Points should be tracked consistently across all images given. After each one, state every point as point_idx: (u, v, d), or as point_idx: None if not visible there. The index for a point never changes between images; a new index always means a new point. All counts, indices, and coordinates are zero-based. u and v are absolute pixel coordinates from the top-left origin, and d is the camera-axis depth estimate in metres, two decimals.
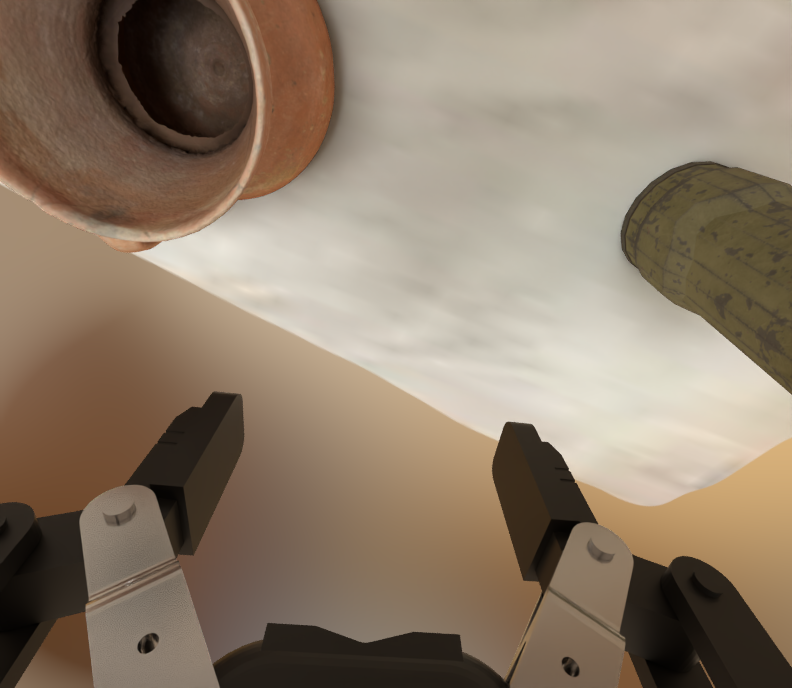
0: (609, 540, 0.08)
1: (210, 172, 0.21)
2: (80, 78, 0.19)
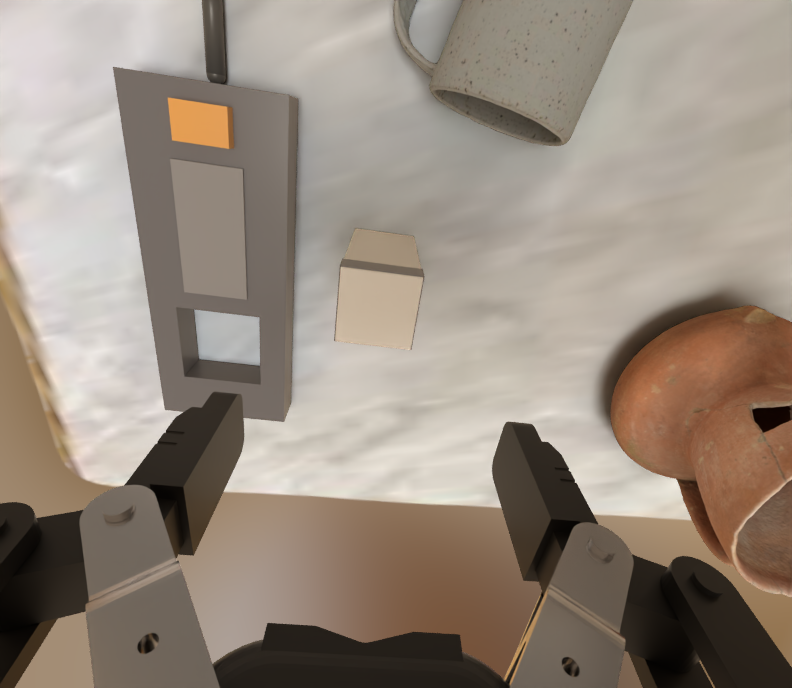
0: (609, 540, 0.08)
1: None
2: None
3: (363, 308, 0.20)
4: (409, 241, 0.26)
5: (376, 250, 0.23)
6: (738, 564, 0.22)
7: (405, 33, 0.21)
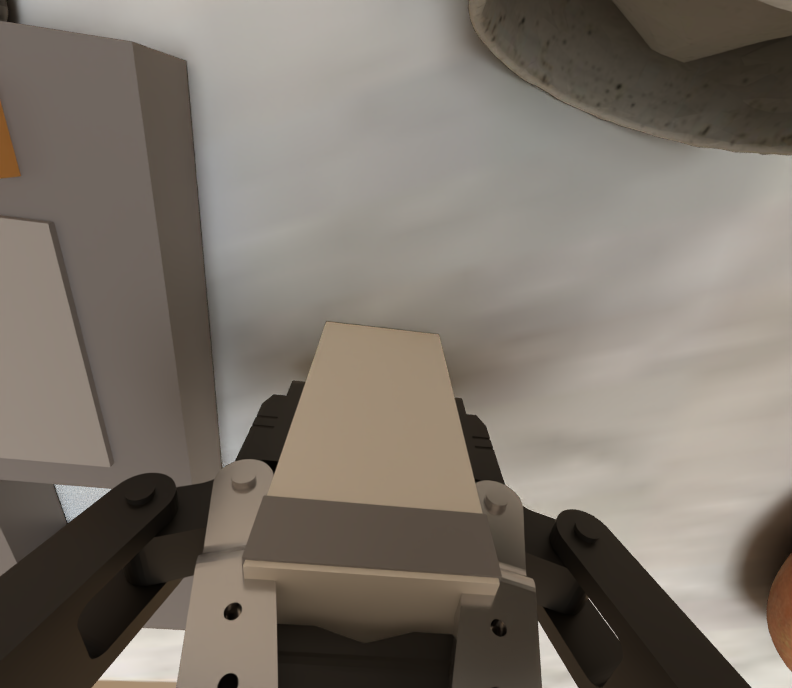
0: (501, 492, 0.09)
1: None
2: None
3: None
4: (433, 356, 0.13)
5: (363, 415, 0.10)
6: None
7: None
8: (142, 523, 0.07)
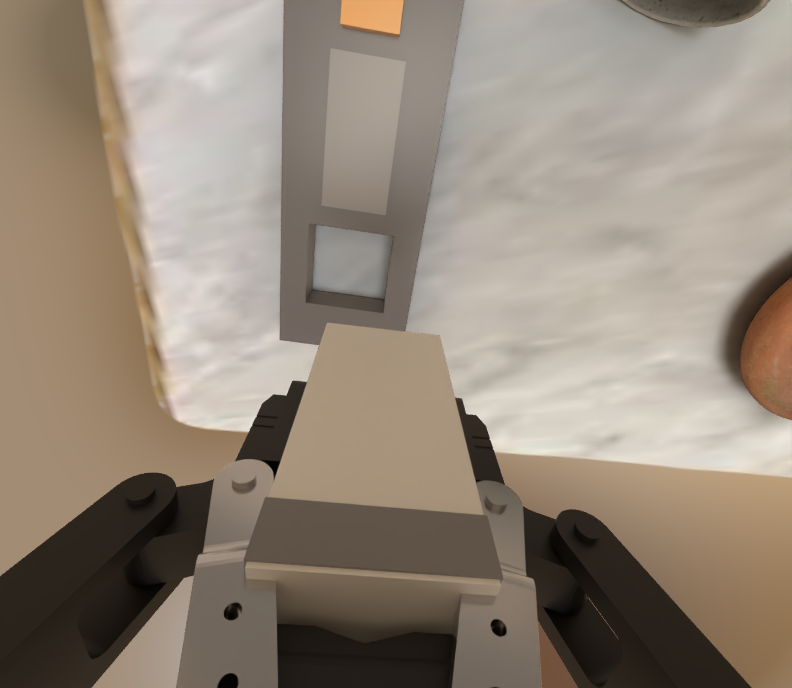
0: (500, 492, 0.09)
1: None
2: None
3: None
4: (433, 357, 0.13)
5: (364, 417, 0.10)
6: None
7: None
8: (142, 523, 0.07)
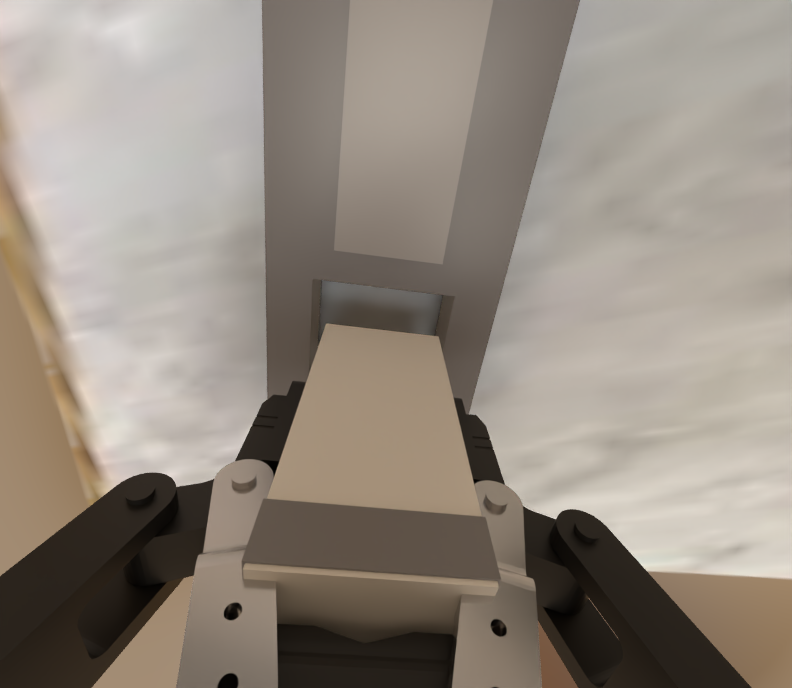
0: (501, 492, 0.09)
1: None
2: None
3: None
4: (432, 358, 0.13)
5: (362, 418, 0.10)
6: None
7: None
8: (142, 523, 0.07)
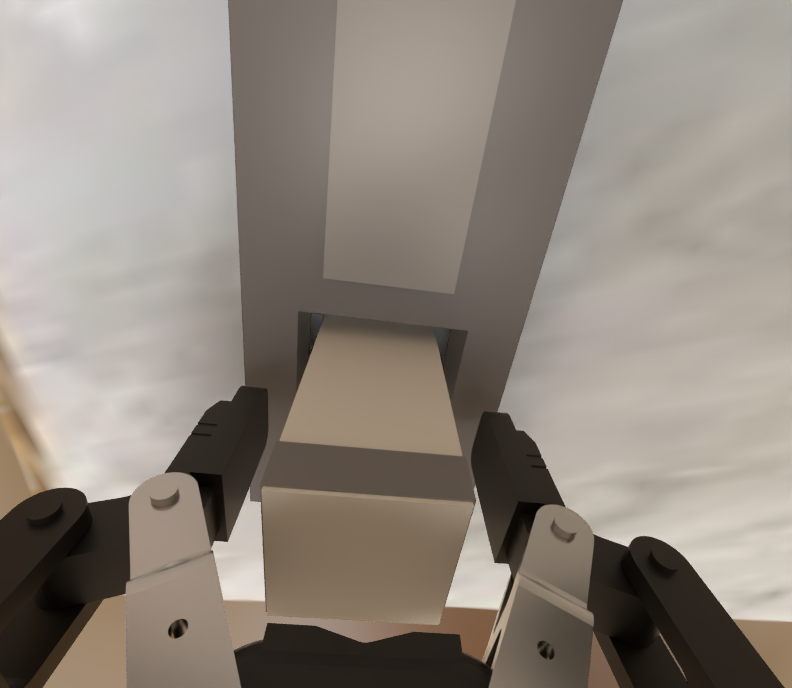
0: (571, 520, 0.09)
1: None
2: None
3: (328, 559, 0.09)
4: (425, 335, 0.14)
5: (361, 382, 0.11)
6: None
7: None
8: (41, 544, 0.07)
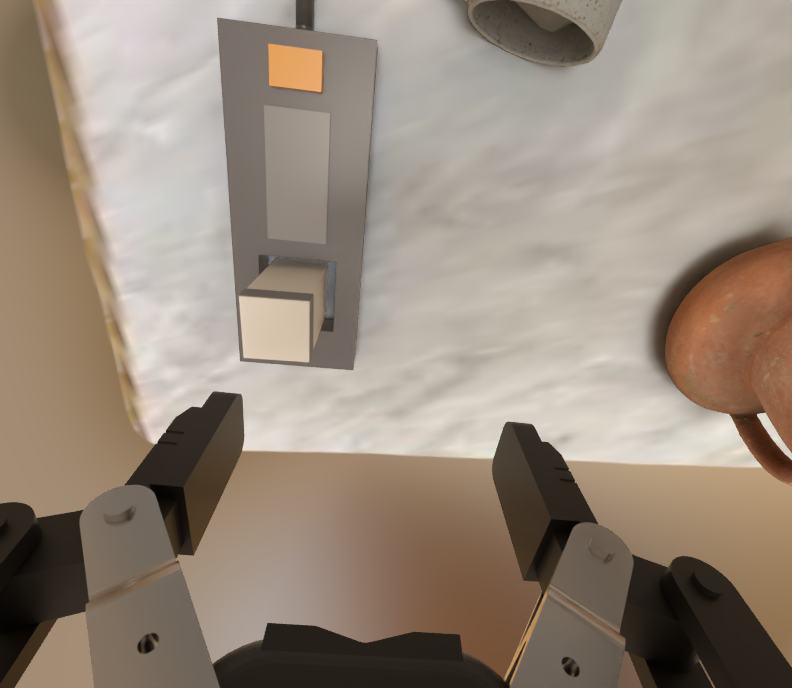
0: (609, 540, 0.08)
1: None
2: None
3: (263, 329, 0.24)
4: (320, 267, 0.30)
5: (282, 278, 0.27)
6: None
7: None
8: None
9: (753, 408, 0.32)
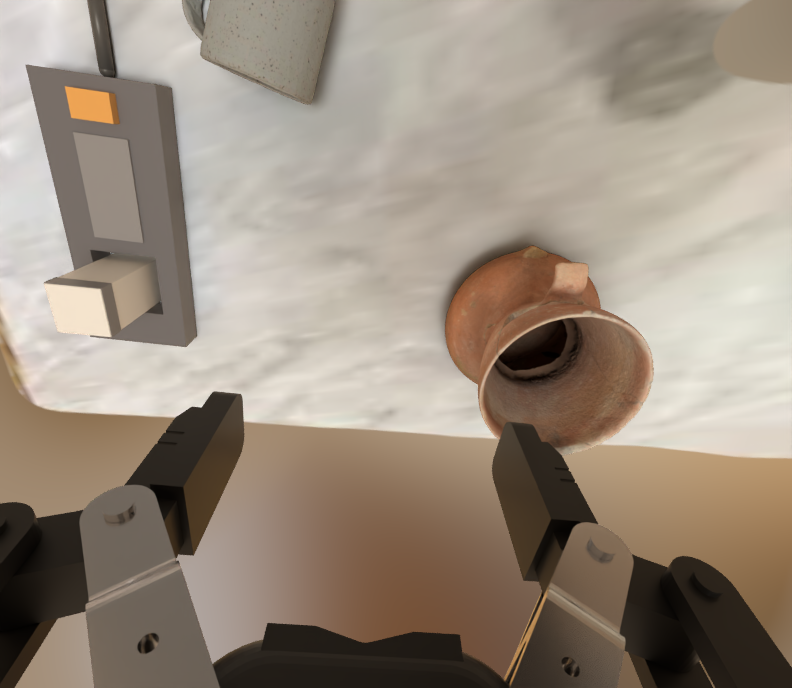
0: (609, 540, 0.08)
1: (573, 388, 0.35)
2: (495, 375, 0.35)
3: (69, 309, 0.31)
4: (147, 261, 0.37)
5: (100, 270, 0.33)
6: (490, 427, 0.31)
7: (191, 18, 0.29)
8: None
9: None
